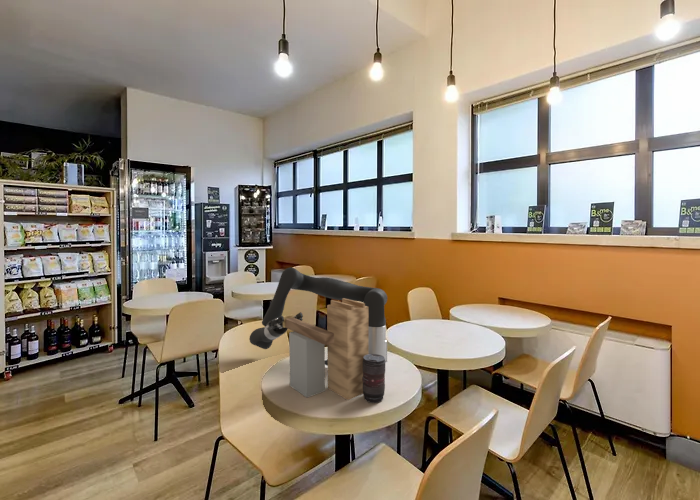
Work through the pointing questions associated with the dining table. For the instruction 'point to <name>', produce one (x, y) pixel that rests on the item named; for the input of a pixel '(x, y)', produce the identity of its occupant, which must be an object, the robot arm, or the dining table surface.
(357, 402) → the dining table surface
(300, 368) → the grey block
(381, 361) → the camera lens
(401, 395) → the dining table surface
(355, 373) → the oak stand
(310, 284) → the robot arm
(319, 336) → the walnut bar
